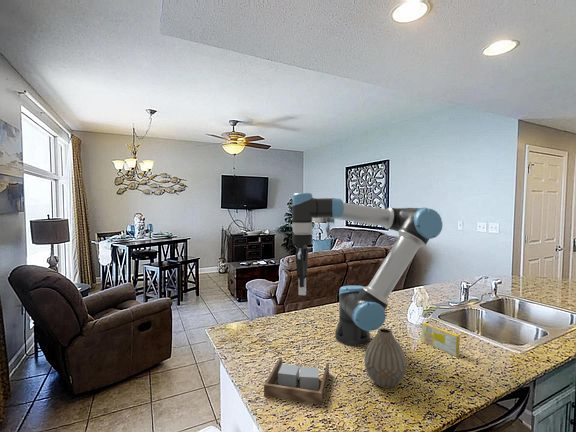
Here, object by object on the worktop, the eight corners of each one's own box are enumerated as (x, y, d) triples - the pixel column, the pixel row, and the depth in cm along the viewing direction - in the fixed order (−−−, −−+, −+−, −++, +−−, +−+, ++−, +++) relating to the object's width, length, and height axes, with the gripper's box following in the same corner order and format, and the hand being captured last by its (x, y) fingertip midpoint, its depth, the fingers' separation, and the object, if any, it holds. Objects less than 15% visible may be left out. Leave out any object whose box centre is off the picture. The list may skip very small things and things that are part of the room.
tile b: (299, 377, 106) (299, 365, 106) (295, 387, 100) (295, 375, 100) (282, 375, 107) (282, 363, 107) (278, 384, 102) (278, 373, 101)
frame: (328, 373, 108) (328, 363, 108) (321, 405, 91) (321, 393, 91) (279, 366, 113) (279, 357, 112) (264, 396, 95) (263, 384, 95)
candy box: (459, 356, 120) (460, 335, 120) (456, 357, 119) (456, 336, 119) (424, 340, 134) (424, 321, 134) (420, 341, 133) (421, 322, 133)
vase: (400, 399, 94) (401, 342, 93) (358, 386, 100) (359, 333, 100) (409, 378, 105) (409, 327, 104) (371, 368, 112) (371, 320, 111)
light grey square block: (318, 379, 105) (318, 367, 105) (318, 389, 99) (318, 377, 99) (300, 378, 105) (300, 367, 105) (299, 389, 99) (299, 376, 99)
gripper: (296, 231, 125) (296, 289, 126) (288, 234, 113) (288, 299, 113) (314, 232, 123) (314, 290, 124) (308, 235, 111) (308, 300, 112)
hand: (302, 294), depth 119 cm, fingers closed
